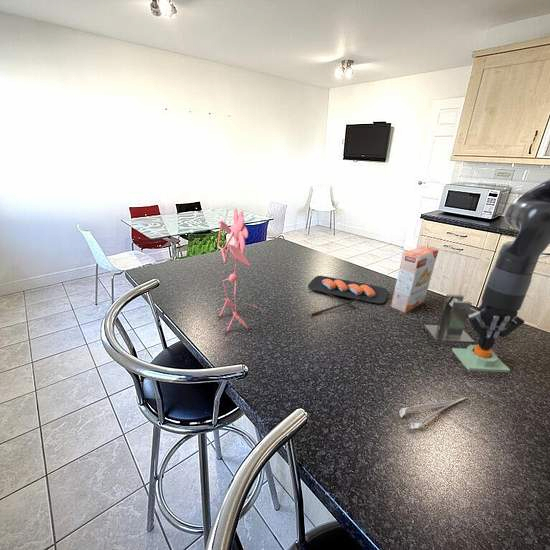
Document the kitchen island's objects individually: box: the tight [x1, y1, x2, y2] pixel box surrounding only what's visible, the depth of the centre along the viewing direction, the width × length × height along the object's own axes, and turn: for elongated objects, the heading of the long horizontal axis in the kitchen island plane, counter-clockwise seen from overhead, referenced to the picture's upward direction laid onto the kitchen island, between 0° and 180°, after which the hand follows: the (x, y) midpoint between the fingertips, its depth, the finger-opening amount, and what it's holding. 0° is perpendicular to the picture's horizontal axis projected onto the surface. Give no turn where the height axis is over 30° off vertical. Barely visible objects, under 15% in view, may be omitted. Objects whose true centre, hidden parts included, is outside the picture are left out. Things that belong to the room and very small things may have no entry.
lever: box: [449, 298, 478, 314], centre depth 84 cm, size 13×5×2 cm, turn 88°
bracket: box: [423, 294, 476, 344], centre depth 85 cm, size 11×8×13 cm
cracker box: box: [390, 245, 439, 314], centre depth 100 cm, size 14×6×21 cm, turn 129°
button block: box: [451, 344, 511, 373], centre depth 76 cm, size 10×8×4 cm
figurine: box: [216, 207, 267, 343], centre depth 87 cm, size 15×26×35 cm, turn 23°
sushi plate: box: [307, 275, 389, 316], centre depth 106 cm, size 29×30×4 cm
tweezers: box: [399, 396, 467, 430], centre depth 62 cm, size 18×5×2 cm, turn 112°
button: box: [474, 343, 493, 358], centre depth 75 cm, size 4×4×2 cm
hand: (483, 347), depth 74 cm, fingers closed
